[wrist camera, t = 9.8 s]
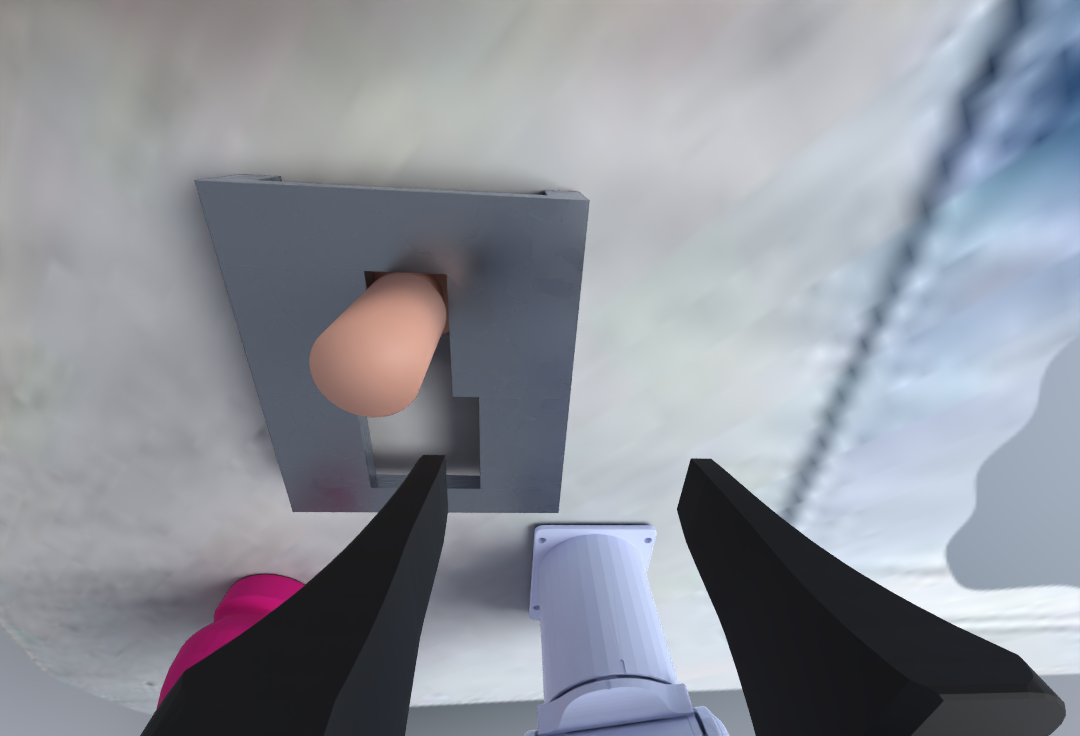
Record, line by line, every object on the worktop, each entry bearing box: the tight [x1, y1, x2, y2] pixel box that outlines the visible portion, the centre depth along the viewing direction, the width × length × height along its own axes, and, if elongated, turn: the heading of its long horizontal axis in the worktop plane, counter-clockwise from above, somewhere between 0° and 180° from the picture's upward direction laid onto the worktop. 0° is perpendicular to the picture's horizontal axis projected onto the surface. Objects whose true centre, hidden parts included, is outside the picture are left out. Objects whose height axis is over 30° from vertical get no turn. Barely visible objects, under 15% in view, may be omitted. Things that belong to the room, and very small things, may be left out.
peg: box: [309, 271, 449, 417], centre depth 16 cm, size 4×4×9 cm
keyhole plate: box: [195, 174, 590, 513], centre depth 21 cm, size 16×14×3 cm
